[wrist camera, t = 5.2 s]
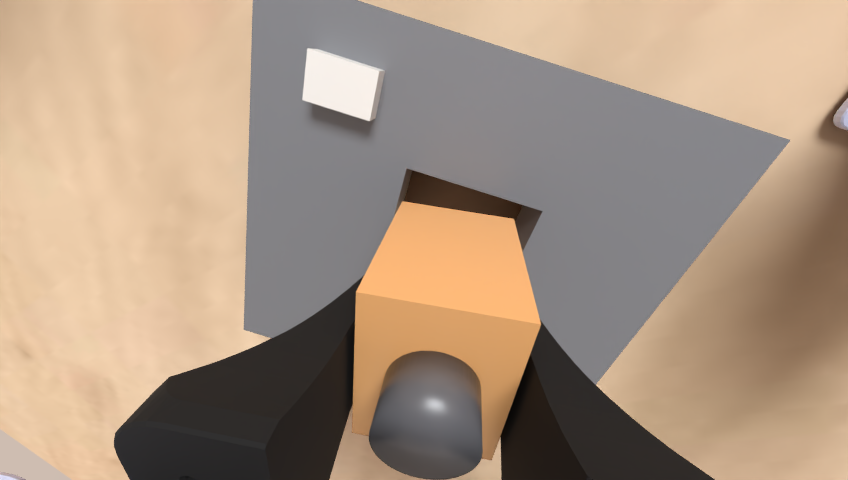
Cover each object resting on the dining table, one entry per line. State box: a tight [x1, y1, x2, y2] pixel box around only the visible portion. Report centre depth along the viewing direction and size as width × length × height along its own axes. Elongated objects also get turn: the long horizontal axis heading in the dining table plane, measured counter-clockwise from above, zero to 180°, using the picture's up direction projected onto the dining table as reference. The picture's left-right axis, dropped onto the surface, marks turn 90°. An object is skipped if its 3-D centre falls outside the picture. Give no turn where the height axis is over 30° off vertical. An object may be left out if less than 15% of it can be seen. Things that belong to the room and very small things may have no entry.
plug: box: [352, 201, 541, 480], centre depth 10 cm, size 4×5×7 cm
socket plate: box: [244, 0, 790, 385], centre depth 16 cm, size 18×16×4 cm
